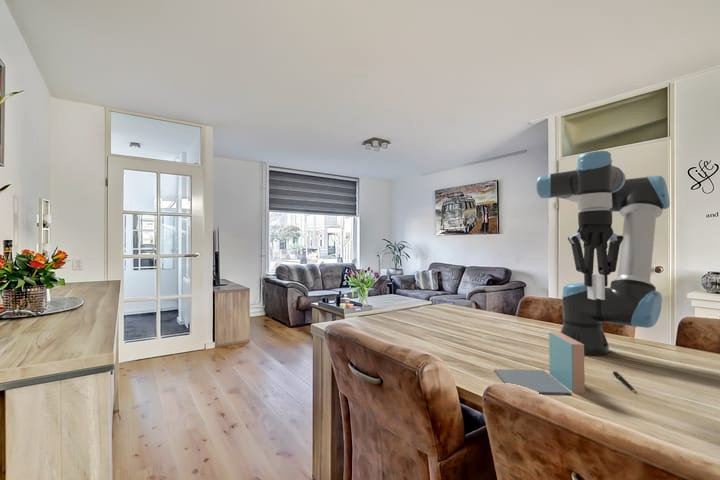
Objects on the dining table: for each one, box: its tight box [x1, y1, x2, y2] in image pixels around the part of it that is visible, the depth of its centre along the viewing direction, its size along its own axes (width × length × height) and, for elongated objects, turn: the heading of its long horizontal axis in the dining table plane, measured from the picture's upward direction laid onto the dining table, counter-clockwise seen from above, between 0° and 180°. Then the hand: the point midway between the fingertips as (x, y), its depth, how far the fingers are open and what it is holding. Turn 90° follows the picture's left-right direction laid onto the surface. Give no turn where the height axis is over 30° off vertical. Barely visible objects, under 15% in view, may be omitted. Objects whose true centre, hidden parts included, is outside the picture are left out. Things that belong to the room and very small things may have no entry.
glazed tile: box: [548, 331, 586, 393], centre depth 92 cm, size 3×12×12 cm, turn 175°
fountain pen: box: [612, 370, 637, 393], centre depth 92 cm, size 14×1×2 cm, turn 162°
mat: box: [493, 368, 572, 396], centre depth 93 cm, size 14×15×1 cm
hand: (596, 298), depth 92 cm, fingers closed
